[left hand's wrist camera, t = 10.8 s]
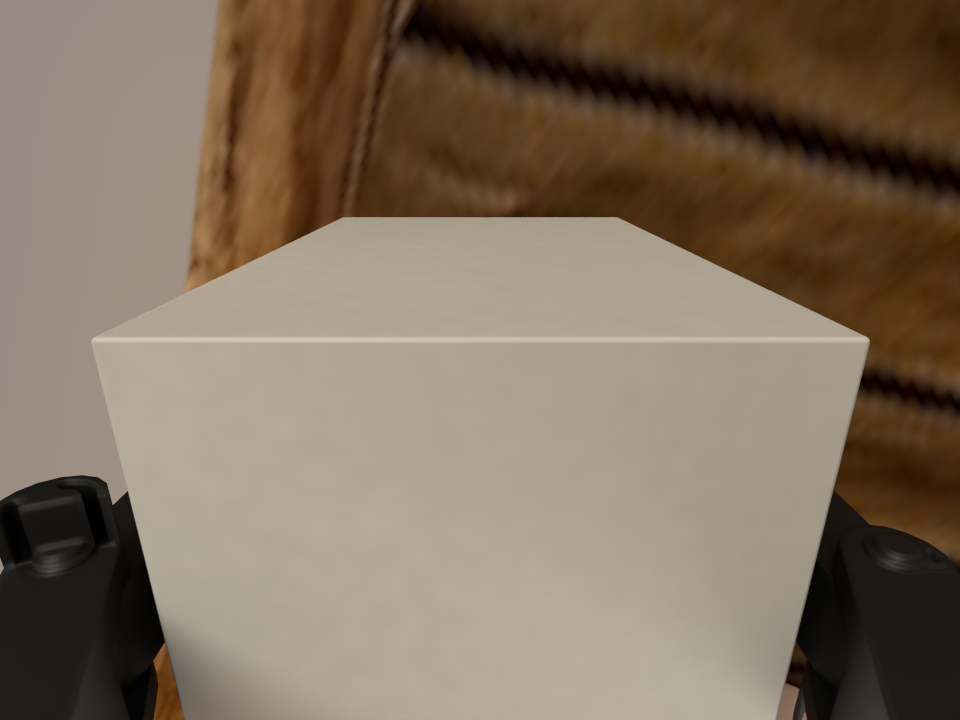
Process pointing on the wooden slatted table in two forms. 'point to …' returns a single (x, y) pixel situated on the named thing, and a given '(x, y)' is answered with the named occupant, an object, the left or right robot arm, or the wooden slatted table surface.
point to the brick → (480, 474)
